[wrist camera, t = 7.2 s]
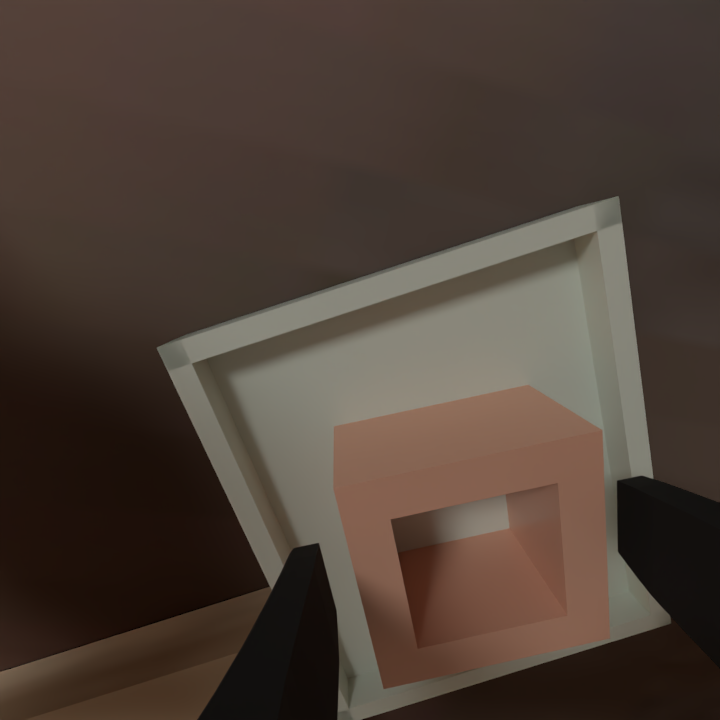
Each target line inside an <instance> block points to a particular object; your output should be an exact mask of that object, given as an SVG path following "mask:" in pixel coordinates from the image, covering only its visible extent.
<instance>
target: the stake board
mask: <svg viewBox="0 0 720 720" xmlns="http://www.w3.org/2000/svg"><path fill="white" fill-rule="evenodd" d="M271 591H272V590H271V588H270V587H267V588H264V589H261V590H258V591H255V592H251V593H248V594H245V595H242V596H239V597H236V598H232V599H229V600H226V601H223V602H220V603H217V604H214V605H210V606H207V607H204V608H201V609H198V610H195V611H191V612H188V613H185V614H182V615H179V616H176V617H173V618H169V619H166V620H163V621H160V622H157V623H154V624H150V625H147V626H144V627H141V628H138V629H135V630H131V631H128V632H125V633H122V634H119V635H116V636H113V637H109V638H106V639H103V640H100V641H97V642H94V643H90V644H87V645H84V646H81V647H78V648H75V649H72V650H68V651H65V652H62V653H59V654H56V655H53V656H49V657H46V658H43V659H40V660H37V661H34V662H31V663H27V664H24V665H21V666H18V667H15V668H12V669H8V670H5V671H2V672H0V720H197V719H198V718H199V716H200V714H201V713H202V711H203V710H204V708H205V707H206V705H207V704H208V702H209V700H210V699H211V697H212V696H213V694H214V692H215V691H216V689H217V688H218V686H219V684H220V682H221V681H222V679H223V677H224V676H225V674H226V672H227V671H228V669H229V667H230V666H231V664H232V662H233V661H234V659H235V657H236V656H237V654H238V652H239V650H240V649H241V647H242V645H243V644H244V642H245V640H246V638H247V636H248V635H249V633H250V631H251V629H252V627H253V625H254V623H255V622H256V620H257V618H258V616H259V614H260V612H261V610H262V609H263V607H264V605H265V603H266V601H267V599H268V597H269V595H270V593H271Z"/></svg>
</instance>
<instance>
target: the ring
mask: <svg viewBox="0 0 720 720" xmlns="http://www.w3.org/2000/svg"><path fill="white" fill-rule="evenodd" d="M333 489H334V493H335V497H336V501H337V505H338V509H339V513H340V517H341V521H342V525H343V529H344V533H345V537H346V541H347V545H348V549H349V553H350V557H351V561H352V565H353V569H354V573H355V577H356V581H357V585H358V589H359V593H360V597H361V601H362V605H363V609H364V613H365V617H366V621H367V625H368V629H369V633H370V637H371V641H372V645H373V649H374V653H375V657H376V661H377V665H378V669H379V673H380V677H381V681H382V685H383V689H387V688H392V687H396V686H401V685H405V684H409V683H414V682H418V681H423V680H427V679H432V678H436V677H441V676H445V675H450V674H454V673H459V672H463V671H467V670H472V669H476V668H481V667H485V666H490V665H494V664H499V663H503V662H508V661H512V660H516V659H521V658H525V657H530V656H534V655H539V654H543V653H548V652H552V651H557V650H561V649H566V648H570V647H574V646H579V645H583V644H588V643H592V642H597V641H601V640H606V639H610V624H609V596H608V569H607V541H606V513H605V486H604V458H603V430H601V429H600V428H598V427H596V426H595V425H593V424H592V423H590V422H588V421H587V420H585V419H583V418H582V417H580V416H579V415H577V414H575V413H574V412H572V411H570V410H569V409H567V408H566V407H564V406H562V405H561V404H559V403H557V402H556V401H554V400H553V399H551V398H549V397H548V396H546V395H544V394H543V393H541V392H540V391H538V390H536V389H535V388H533V387H531V386H530V385H525V386H520V387H515V388H511V389H506V390H501V391H497V392H492V393H487V394H483V395H478V396H473V397H469V398H464V399H459V400H455V401H450V402H445V403H441V404H436V405H431V406H427V407H422V408H417V409H413V410H408V411H403V412H399V413H394V414H389V415H385V416H380V417H375V418H371V419H366V420H361V421H357V422H352V423H347V424H343V425H338V426H334V461H333ZM505 494H506V502H507V511H508V519H509V528H508V529H504V530H499V531H495V532H490V533H486V534H481V535H476V536H472V537H467V538H463V539H458V540H454V541H449V542H445V543H440V544H435V545H431V546H426V547H422V548H417V549H413V550H408V551H404V552H399V553H397V548H396V543H395V538H394V534H393V529H392V524H391V520H390V519H395V518H400V517H404V516H409V515H413V514H418V513H423V512H427V511H432V510H436V509H441V508H445V507H450V506H455V505H459V504H464V503H468V502H473V501H478V500H482V499H487V498H491V497H496V496H500V495H505Z"/></svg>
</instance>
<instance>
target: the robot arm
mask: <svg viewBox="0 0 720 720" xmlns="http://www.w3.org/2000/svg"><path fill="white" fill-rule="evenodd" d="M617 532H618V553H619V554H620V555H621V557H622V558H623V559H624V561H625V562H626V563H627V565H628V566H629V567H630V569H631V570H632V571H633V573H634V574H635V576H636V577H637V578H638V579H639V581H640V582H641V583H642V584H643V586H644V587H645V588H646V589H647V591H648V592H649V593H650V594H651V596H652V597H653V598H654V599H655V600H656V601H657V602H658V603H659V604H660V606H661V607H662V608H663V609H664V610H665V611H666V612H667V613H668V614H669V615H670V616H671V617H672V618H673V619H674V621H675V622H676V623H677V624H678V625H679V626H680V627H681V628H682V629H683V630H684V631H685V632H686V633H687V634H688V635H689V636H690V638H691V639H692V640H693V641H694V642H695V643H696V644H697V645H698V646H699V647H700V648H701V649H702V650H703V651H704V652H705V653H706V654H707V655H708V656H709V657H710V659H711V660H712V661H713V662H714V663H715V664H716V665H717V666H718V667H719V668H720V503H719V502H716V501H713V500H710V499H708V498H705V497H702V496H700V495H697V494H694V493H692V492H689V491H686V490H683V489H681V488H678V487H675V486H672V485H669V484H667V483H664V482H661V481H658V480H655V479H652V478H648V477H645V476H637V477H632V478H627V479H622V480H618V481H617ZM338 689H339V643H338V625H337V610H336V607H335V603H334V599H333V595H332V591H331V587H330V583H329V580H328V576H327V572H326V568H325V564H324V560H323V557H322V553H321V549H320V545H319V543H315V544H311V545H306V546H301V547H296V548H293V549H292V551H291V552H290V554H289V556H288V558H287V560H286V562H285V564H284V567H283V569H282V571H281V573H280V575H279V577H278V579H277V581H276V583H275V585H274V587H273V589H272V591H271V593H270V595H269V597H268V599H267V601H266V603H265V605H264V607H263V609H262V610H261V612H260V614H259V616H258V618H257V620H256V622H255V623H254V625H253V627H252V629H251V631H250V633H249V635H248V636H247V638H246V640H245V642H244V644H243V645H242V647H241V649H240V650H239V652H238V654H237V656H236V657H235V659H234V661H233V662H232V664H231V666H230V667H229V669H228V671H227V672H226V674H225V676H224V677H223V679H222V681H221V682H220V684H219V686H218V688H217V689H216V691H215V692H214V694H213V696H212V697H211V699H210V700H209V702H208V704H207V705H206V707H205V708H204V710H203V711H202V713H201V714H200V716H199V718H198V719H197V720H337V716H338Z"/></svg>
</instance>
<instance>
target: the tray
mask: <svg viewBox="0 0 720 720" xmlns="http://www.w3.org/2000/svg"><path fill="white" fill-rule="evenodd" d="M157 350H158V352H159V354H160V356H161V358H162V360H163V362H164V365H165V367H166V369H167V371H168V373H169V375H170V377H171V379H172V381H173V383H174V386H175V388H176V390H177V392H178V394H179V396H180V398H181V400H182V402H183V404H184V407H185V409H186V411H187V413H188V415H189V417H190V419H191V421H192V423H193V426H194V428H195V430H196V432H197V434H198V436H199V438H200V440H201V442H202V444H203V447H204V449H205V451H206V453H207V455H208V457H209V459H210V461H211V463H212V466H213V468H214V470H215V472H216V474H217V476H218V478H219V480H220V482H221V484H222V487H223V489H224V491H225V493H226V495H227V497H228V499H229V501H230V503H231V506H232V508H233V510H234V512H235V514H236V516H237V518H238V520H239V522H240V524H241V527H242V529H243V531H244V533H245V535H246V537H247V539H248V541H249V543H250V545H251V548H252V550H253V552H254V554H255V556H256V558H257V560H258V562H259V564H260V567H261V569H262V571H263V573H264V575H265V577H266V579H267V581H268V583H269V585H270V588H271V590H272V589H273V587H274V585H275V583H276V581H277V579H278V577H279V575H280V573H281V571H282V569H283V567H284V564H285V562H286V560H287V558H288V556H289V554H290V552H291V551H292V549H293V548H296V547H301V546H306V545H311V544H315V543H319V545H320V549H321V553H322V557H323V560H324V564H325V568H326V572H327V576H328V580H329V583H330V587H331V591H332V595H333V599H334V603H335V607H336V610H337V625H338V643H339V689H338V716H337V720H362V719H365V718H368V717H371V716H375V715H378V714H381V713H384V712H388V711H391V710H394V709H397V708H400V707H404V706H407V705H410V704H413V703H417V702H420V701H423V700H426V699H429V698H433V697H436V696H439V695H442V694H446V693H449V692H452V691H455V690H458V689H462V688H465V687H468V686H471V685H475V684H478V683H481V682H484V681H487V680H491V679H494V678H497V677H500V676H504V675H507V674H510V673H513V672H516V671H520V670H523V669H526V668H529V667H533V666H536V665H539V664H542V663H545V662H549V661H552V660H555V659H558V658H562V657H565V656H568V655H571V654H574V653H578V652H581V651H584V650H587V649H591V648H594V647H597V646H600V645H603V644H607V643H610V642H613V641H616V640H620V639H623V638H626V637H629V636H632V635H636V634H639V633H642V632H645V631H649V630H652V629H655V628H658V627H661V626H665V625H668V624H671V618H670V615H669V614H668V613H667V612H666V611H665V610H664V609H663V608H662V607H661V606H660V604H659V603H658V602H657V601H656V600H655V599H654V598H653V597H652V596H651V594H650V593H649V592H648V591H647V589H646V588H645V587H644V586H643V584H642V583H641V582H640V581H639V579H638V578H637V577H636V576H635V574H634V573H633V571H632V570H631V569H630V567H629V566H628V565H627V563H626V562H625V561H624V559H623V558H622V557H621V555H620V554H619V553H618V532H617V481H618V480H622V479H627V478H632V477H637V476H645V477H648V478H652V479H653V472H652V463H651V455H650V447H649V439H648V431H647V423H646V415H645V406H644V398H643V390H642V382H641V374H640V366H639V358H638V349H637V341H636V333H635V325H634V317H633V309H632V301H631V292H630V284H629V276H628V268H627V260H626V252H625V244H624V235H623V227H622V219H621V211H620V203H619V196H617V197H613V198H609V199H605V200H601V201H597V202H593V203H589V204H585V205H581V206H577V207H574V208H571V209H568V210H565V211H562V212H559V213H556V214H552V215H549V216H546V217H543V218H540V219H537V220H534V221H531V222H528V223H525V224H522V225H519V226H516V227H513V228H510V229H507V230H504V231H501V232H498V233H495V234H492V235H488V236H485V237H482V238H479V239H476V240H473V241H470V242H467V243H464V244H461V245H458V246H455V247H452V248H449V249H446V250H443V251H440V252H437V253H434V254H431V255H428V256H424V257H421V258H418V259H415V260H412V261H409V262H406V263H403V264H400V265H397V266H394V267H391V268H388V269H385V270H382V271H379V272H376V273H373V274H370V275H367V276H364V277H361V278H357V279H354V280H351V281H348V282H345V283H342V284H339V285H336V286H333V287H330V288H327V289H324V290H321V291H318V292H315V293H312V294H309V295H306V296H303V297H300V298H297V299H293V300H290V301H287V302H284V303H281V304H278V305H275V306H272V307H269V308H266V309H263V310H260V311H257V312H254V313H251V314H248V315H245V316H242V317H239V318H236V319H233V320H229V321H226V322H223V323H220V324H217V325H214V326H211V327H208V328H205V329H202V330H199V331H196V332H193V333H190V334H187V335H184V336H181V337H179V338H177V339H175V340H172V341H170V342H168V343H166V344H164V345H162V346H159V347H157ZM525 385H530V386H531V387H533V388H535V389H536V390H538V391H540V392H541V393H543V394H544V395H546V396H548V397H549V398H551V399H553V400H554V401H556V402H557V403H559V404H561V405H562V406H564V407H566V408H567V409H569V410H570V411H572V412H574V413H575V414H577V415H579V416H580V417H582V418H583V419H585V420H587V421H588V422H590V423H592V424H593V425H595V426H596V427H598V428H600V429H601V430H603V458H604V486H605V513H606V541H607V569H608V596H609V624H610V639H606V640H601V641H597V642H592V643H588V644H583V645H579V646H574V647H570V648H566V649H561V650H557V651H552V652H548V653H543V654H539V655H534V656H530V657H525V658H521V659H516V660H512V661H508V662H503V663H499V664H494V665H490V666H485V667H481V668H476V669H472V670H467V671H463V672H459V673H454V674H450V675H445V676H441V677H436V678H432V679H427V680H423V681H418V682H414V683H409V684H405V685H401V686H396V687H392V688H387V689H383V685H382V681H381V677H380V673H379V669H378V665H377V661H376V657H375V653H374V649H373V645H372V641H371V637H370V633H369V629H368V625H367V621H366V617H365V613H364V609H363V605H362V601H361V597H360V593H359V589H358V585H357V581H356V577H355V573H354V569H353V565H352V561H351V557H350V553H349V549H348V545H347V541H346V537H345V533H344V529H343V525H342V521H341V517H340V513H339V509H338V505H337V501H336V497H335V493H334V489H333V461H334V426H338V425H343V424H347V423H352V422H357V421H361V420H366V419H371V418H375V417H380V416H385V415H389V414H394V413H399V412H403V411H408V410H413V409H417V408H422V407H427V406H431V405H436V404H441V403H445V402H450V401H455V400H459V399H464V398H469V397H473V396H478V395H483V394H487V393H492V392H497V391H501V390H506V389H511V388H515V387H520V386H525ZM390 520H391V524H392V529H393V534H394V538H395V543H396V548H397V553H399V552H404V551H408V550H413V549H417V548H422V547H426V546H431V545H435V544H440V543H445V542H449V541H454V540H458V539H463V538H467V537H472V536H476V535H481V534H486V533H490V532H495V531H499V530H504V529H508V528H509V519H508V511H507V502H506V494H505V495H500V496H496V497H491V498H487V499H482V500H478V501H473V502H468V503H464V504H459V505H455V506H450V507H445V508H441V509H436V510H432V511H427V512H423V513H418V514H413V515H409V516H404V517H400V518H395V519H390Z"/></svg>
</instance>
